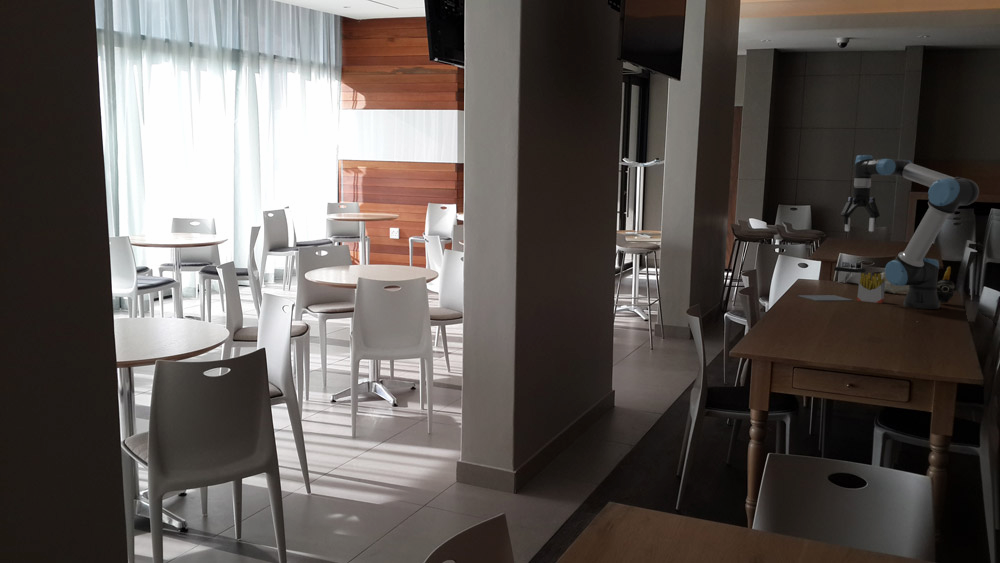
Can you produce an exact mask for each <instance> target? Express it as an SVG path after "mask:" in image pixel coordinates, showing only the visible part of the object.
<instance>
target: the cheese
mask: <svg viewBox="0 0 1000 563" xmlns="http://www.w3.org/2000/svg"><path fill="white" fill-rule="evenodd" d="M879 274H881V279H884V281H885V290H884V293H892V294H894V295H895V294H897V293H908V290H909V285H905V286H896V285H893V284H891V283H890V282H889V281H888V280H887V278H886V274H885V271H884V272H883V271H882V272H880V273H879ZM877 279H878V276H877Z"/></svg>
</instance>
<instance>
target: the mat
mask: <svg viewBox="0 0 1000 563" xmlns="http://www.w3.org/2000/svg"><path fill="white" fill-rule="evenodd" d="M797 297H800V298H802V299H807V300H812V301H814V302H850V301H851V302H854V299H853V298H849V297H848V298H847V297H842V296H839V295H835V294H832V295H831V294H828V295H827V294H826V295H825V294H823V295H822V294H821V295H820V294H818V295H816V294H815V295H814V294H807V295H805V294H803V295H802V294H800V295H799V294H798V295H797Z"/></svg>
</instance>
